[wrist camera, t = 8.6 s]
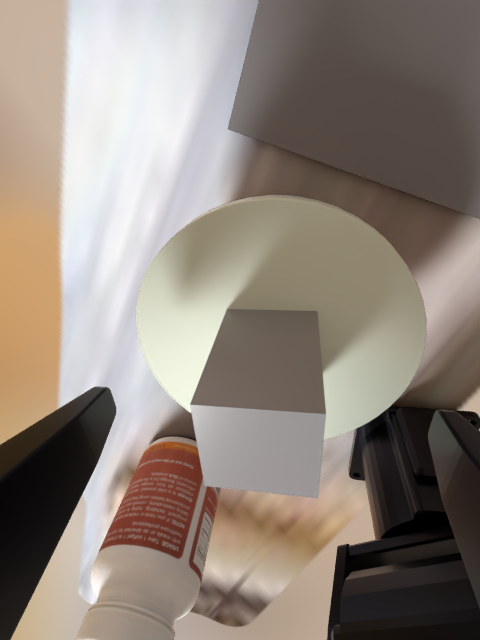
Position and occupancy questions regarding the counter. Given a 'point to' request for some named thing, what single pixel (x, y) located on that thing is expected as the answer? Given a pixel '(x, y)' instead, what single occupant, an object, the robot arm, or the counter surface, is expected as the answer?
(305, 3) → the mat
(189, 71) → the counter surface
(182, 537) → the pill bottle
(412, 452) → the robot arm
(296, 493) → the lid
